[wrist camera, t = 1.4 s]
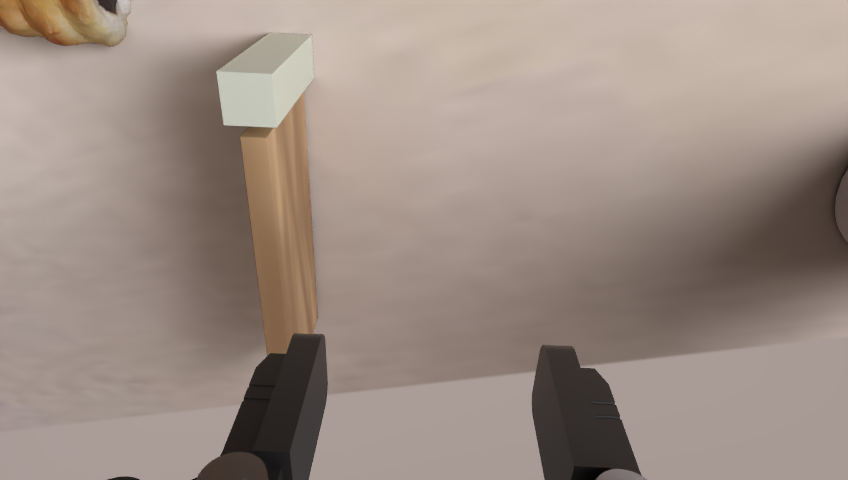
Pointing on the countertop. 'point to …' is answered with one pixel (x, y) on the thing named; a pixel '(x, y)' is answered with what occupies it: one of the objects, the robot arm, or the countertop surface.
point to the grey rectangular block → (266, 80)
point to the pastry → (67, 20)
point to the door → (282, 226)
